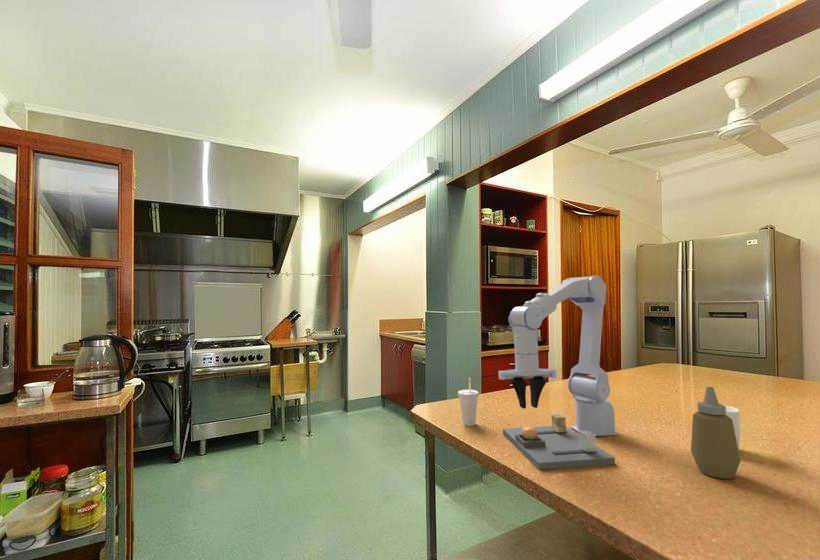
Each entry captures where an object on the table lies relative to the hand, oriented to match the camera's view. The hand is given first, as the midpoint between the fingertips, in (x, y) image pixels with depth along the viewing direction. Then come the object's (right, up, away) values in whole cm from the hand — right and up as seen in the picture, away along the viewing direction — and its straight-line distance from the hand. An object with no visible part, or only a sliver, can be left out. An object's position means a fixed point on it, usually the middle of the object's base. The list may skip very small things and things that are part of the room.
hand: (528, 407), depth 91 cm
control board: (+6, -10, 0) cm, 12 cm away
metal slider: (+12, -8, -6) cm, 16 cm away
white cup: (+47, -10, -3) cm, 48 cm away
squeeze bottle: (+35, -9, -15) cm, 39 cm away
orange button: (0, -7, 0) cm, 7 cm away
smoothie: (-12, -12, +19) cm, 26 cm away
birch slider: (+10, -9, +7) cm, 15 cm away
